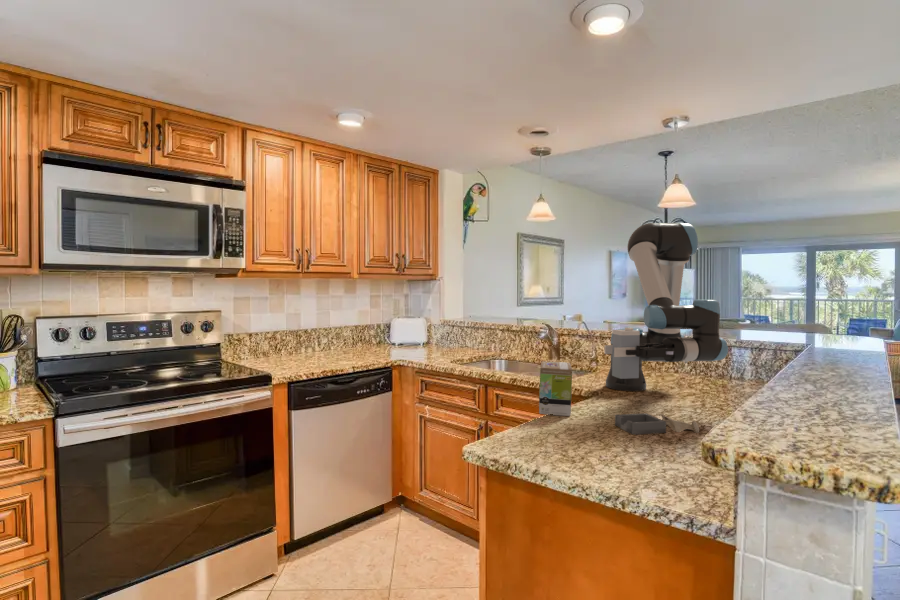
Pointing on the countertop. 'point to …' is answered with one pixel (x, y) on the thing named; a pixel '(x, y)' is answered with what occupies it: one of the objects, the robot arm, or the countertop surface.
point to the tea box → (555, 388)
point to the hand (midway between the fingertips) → (609, 350)
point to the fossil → (680, 424)
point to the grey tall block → (625, 365)
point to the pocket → (640, 423)
